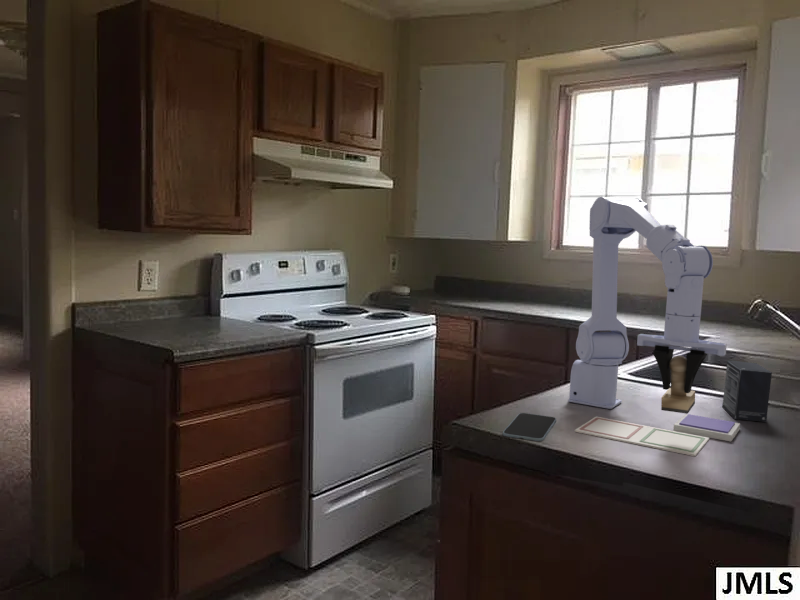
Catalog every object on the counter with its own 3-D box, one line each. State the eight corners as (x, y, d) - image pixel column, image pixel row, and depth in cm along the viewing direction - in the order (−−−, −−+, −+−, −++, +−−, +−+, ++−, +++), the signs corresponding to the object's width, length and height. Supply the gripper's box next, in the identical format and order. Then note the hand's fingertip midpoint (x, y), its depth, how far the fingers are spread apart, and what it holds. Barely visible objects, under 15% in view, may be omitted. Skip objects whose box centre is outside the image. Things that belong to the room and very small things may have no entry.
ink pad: (673, 430, 130) (674, 423, 130) (684, 419, 138) (685, 412, 138) (731, 441, 125) (731, 433, 125) (739, 429, 133) (740, 422, 132)
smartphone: (501, 433, 124) (519, 412, 137) (500, 438, 124) (519, 416, 138) (542, 439, 121) (557, 417, 135) (542, 444, 121) (557, 422, 135)
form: (574, 431, 128) (574, 429, 127) (595, 417, 137) (596, 415, 137) (695, 456, 116) (695, 454, 116) (709, 439, 126) (709, 437, 126)
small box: (769, 423, 138) (774, 371, 137) (734, 420, 140) (739, 369, 138) (753, 409, 149) (758, 361, 147) (721, 406, 150) (725, 359, 149)
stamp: (661, 410, 122) (662, 358, 121) (669, 400, 127) (670, 350, 125) (687, 413, 120) (688, 361, 118) (694, 403, 125) (696, 353, 123)
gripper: (634, 312, 122) (629, 387, 123) (723, 321, 114) (716, 401, 115) (645, 309, 128) (640, 380, 129) (731, 317, 119) (724, 393, 121)
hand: (676, 390), depth 123 cm, fingers closed on stamp, 3 cm apart
